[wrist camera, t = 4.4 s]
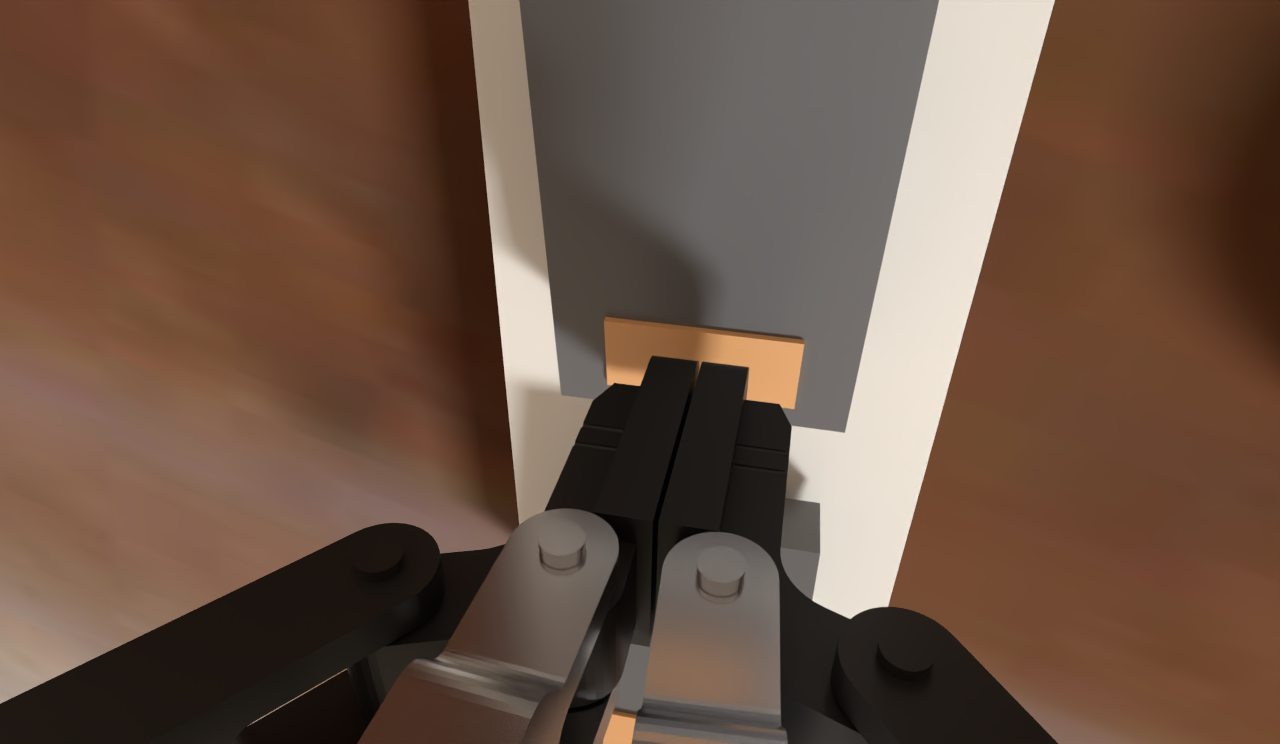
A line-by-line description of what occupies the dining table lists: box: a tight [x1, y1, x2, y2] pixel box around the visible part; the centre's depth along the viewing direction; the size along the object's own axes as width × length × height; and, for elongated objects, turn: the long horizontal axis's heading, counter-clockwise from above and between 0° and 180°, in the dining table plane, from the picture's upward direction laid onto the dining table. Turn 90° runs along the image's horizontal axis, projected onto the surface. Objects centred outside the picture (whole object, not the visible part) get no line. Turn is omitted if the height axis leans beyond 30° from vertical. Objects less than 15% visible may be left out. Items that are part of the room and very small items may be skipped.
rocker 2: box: [602, 498, 820, 744], centre depth 18 cm, size 5×7×2 cm
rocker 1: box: [519, 0, 939, 433], centre depth 13 cm, size 5×7×2 cm
